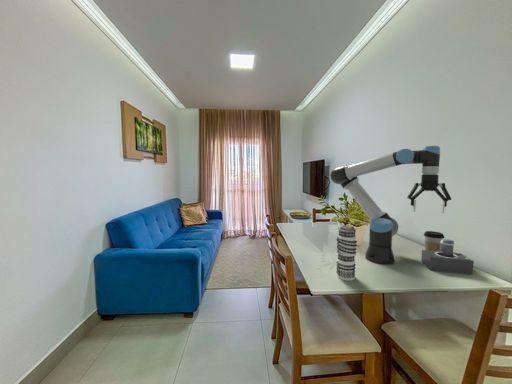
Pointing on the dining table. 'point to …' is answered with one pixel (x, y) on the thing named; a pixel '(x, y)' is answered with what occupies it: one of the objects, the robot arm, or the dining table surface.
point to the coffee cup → (433, 240)
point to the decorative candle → (346, 253)
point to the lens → (446, 248)
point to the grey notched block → (447, 262)
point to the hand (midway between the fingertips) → (427, 212)
